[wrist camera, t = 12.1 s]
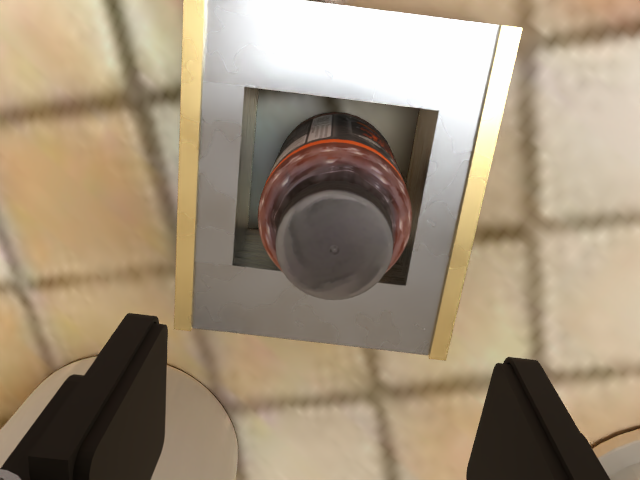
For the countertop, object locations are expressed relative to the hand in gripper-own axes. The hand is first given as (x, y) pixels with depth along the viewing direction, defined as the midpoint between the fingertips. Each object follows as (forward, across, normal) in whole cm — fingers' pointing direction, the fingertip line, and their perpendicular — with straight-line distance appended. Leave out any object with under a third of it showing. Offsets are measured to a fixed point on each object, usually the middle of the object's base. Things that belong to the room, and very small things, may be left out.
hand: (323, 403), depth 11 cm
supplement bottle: (+20, 0, 0) cm, 20 cm away
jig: (+20, 0, 0) cm, 20 cm away
